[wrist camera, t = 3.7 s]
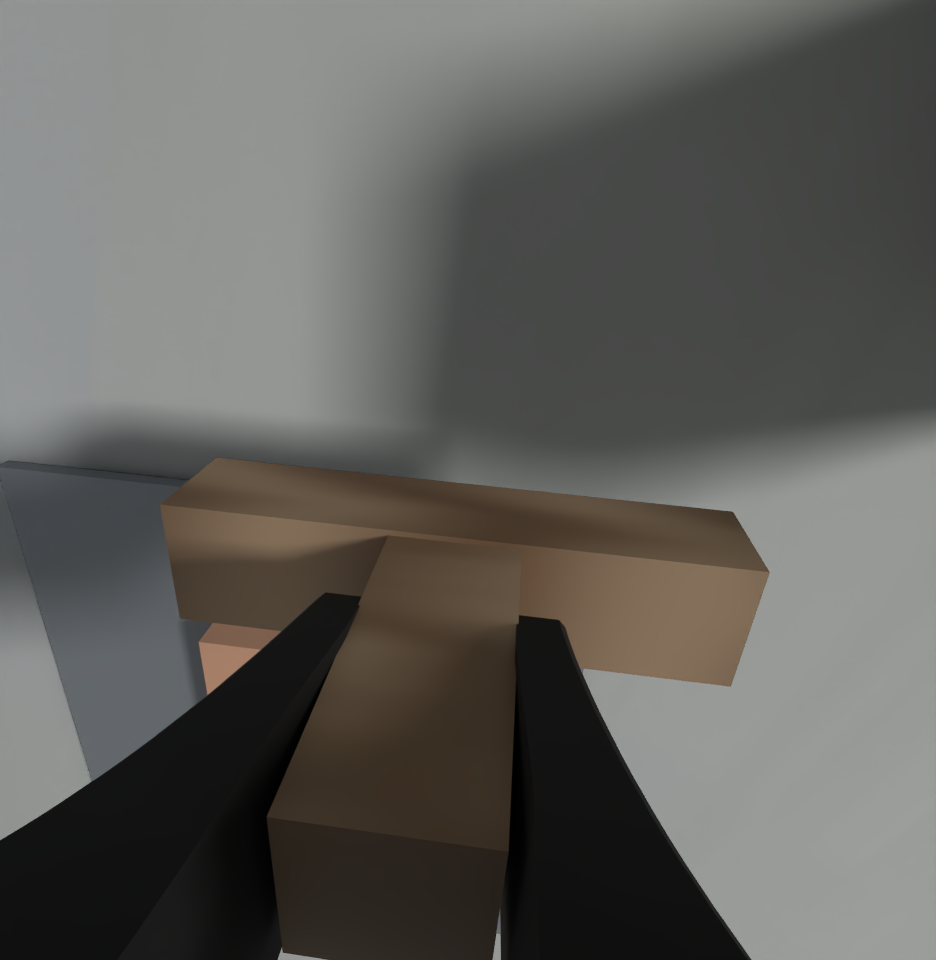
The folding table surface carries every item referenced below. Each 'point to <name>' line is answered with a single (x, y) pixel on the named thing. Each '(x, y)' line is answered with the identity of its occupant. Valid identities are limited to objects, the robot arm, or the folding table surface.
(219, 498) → the brown t-shaped block
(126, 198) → the folding table surface
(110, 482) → the slate board
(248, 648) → the tile
